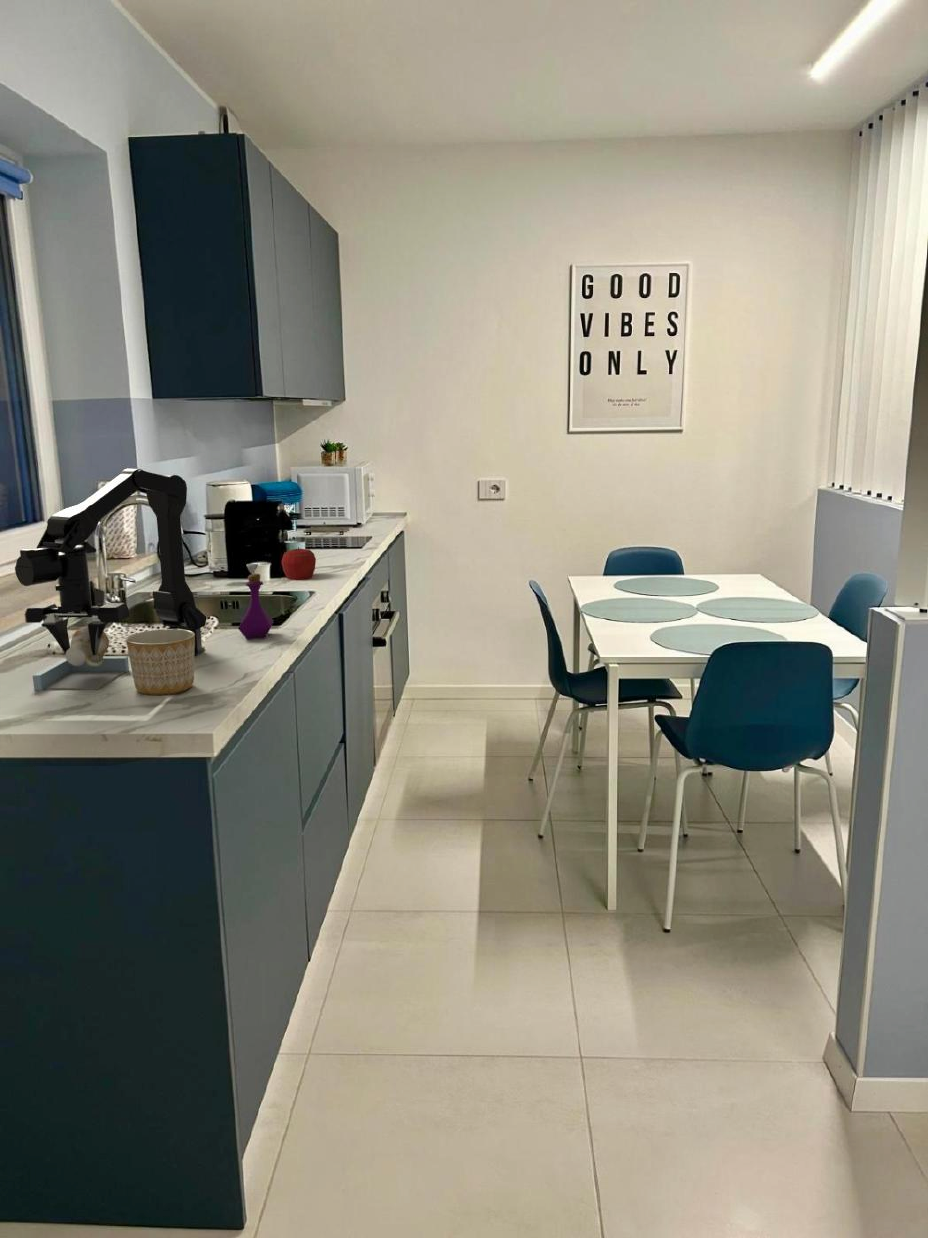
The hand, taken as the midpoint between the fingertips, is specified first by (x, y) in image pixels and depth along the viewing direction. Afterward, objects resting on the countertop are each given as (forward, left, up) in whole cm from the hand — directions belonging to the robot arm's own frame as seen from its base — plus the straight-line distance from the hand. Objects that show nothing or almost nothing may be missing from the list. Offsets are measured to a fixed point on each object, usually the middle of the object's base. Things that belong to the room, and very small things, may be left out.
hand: (81, 655), depth 186 cm
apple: (-19, -112, -6) cm, 114 cm away
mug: (-1, 0, -4) cm, 4 cm away
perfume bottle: (-25, -38, -6) cm, 46 cm away
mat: (0, -1, -6) cm, 6 cm away
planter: (-18, +4, -6) cm, 19 cm away
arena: (+7, -8, -6) cm, 12 cm away
